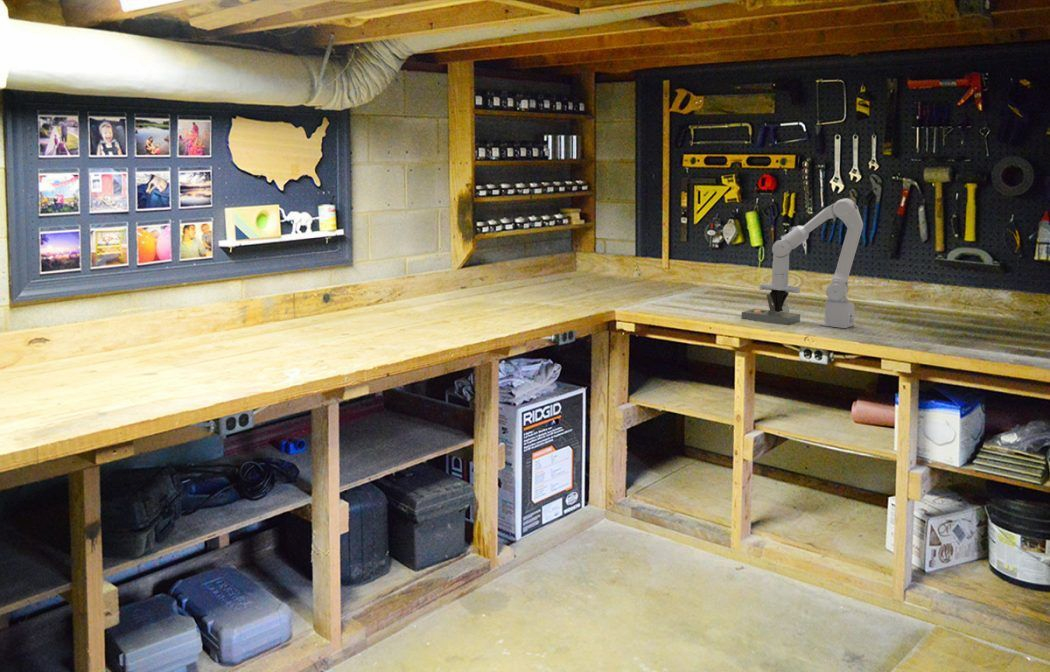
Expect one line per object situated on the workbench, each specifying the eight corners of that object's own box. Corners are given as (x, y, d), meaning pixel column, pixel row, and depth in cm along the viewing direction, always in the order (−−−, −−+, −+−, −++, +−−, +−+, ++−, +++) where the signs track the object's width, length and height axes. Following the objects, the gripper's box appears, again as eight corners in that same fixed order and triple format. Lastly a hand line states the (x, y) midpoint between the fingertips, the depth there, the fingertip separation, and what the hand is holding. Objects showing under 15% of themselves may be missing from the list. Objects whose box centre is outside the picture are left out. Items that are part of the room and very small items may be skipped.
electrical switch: (779, 316, 353) (778, 291, 351) (766, 316, 356) (765, 291, 355) (789, 313, 360) (789, 288, 359) (776, 313, 363) (776, 288, 362)
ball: (753, 311, 350) (757, 319, 350) (749, 312, 348) (753, 320, 347) (760, 307, 348) (764, 315, 348) (756, 308, 346) (760, 316, 345)
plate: (799, 321, 343) (800, 314, 342) (787, 324, 335) (788, 317, 335) (754, 315, 354) (754, 308, 354) (741, 318, 347) (741, 312, 346)
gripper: (804, 274, 338) (802, 312, 341) (766, 271, 347) (764, 307, 350) (795, 276, 333) (793, 314, 335) (757, 272, 342) (755, 310, 345)
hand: (778, 311), depth 342 cm, fingers closed
